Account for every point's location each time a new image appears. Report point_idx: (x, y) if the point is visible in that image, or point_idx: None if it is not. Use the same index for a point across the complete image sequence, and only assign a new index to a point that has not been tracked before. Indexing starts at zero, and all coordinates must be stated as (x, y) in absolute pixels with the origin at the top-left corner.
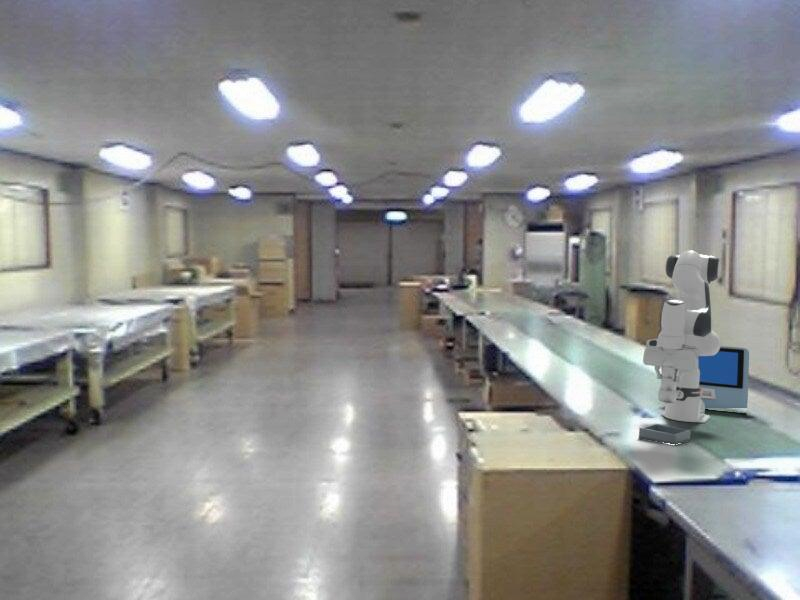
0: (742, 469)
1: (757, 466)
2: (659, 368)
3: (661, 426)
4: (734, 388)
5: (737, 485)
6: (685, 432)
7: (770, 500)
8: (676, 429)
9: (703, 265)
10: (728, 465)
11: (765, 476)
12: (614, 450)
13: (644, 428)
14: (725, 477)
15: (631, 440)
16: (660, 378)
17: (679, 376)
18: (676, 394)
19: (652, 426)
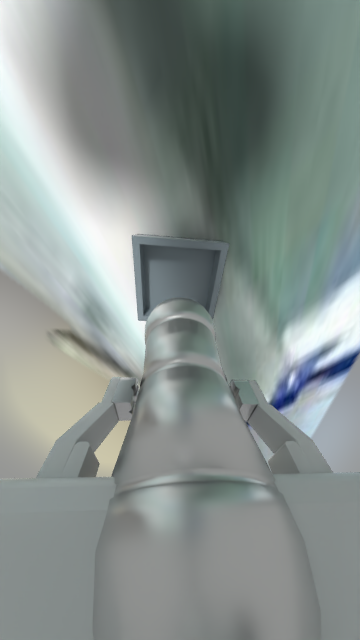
0: (300, 363)
1: (325, 337)
2: (92, 458)
3: (154, 244)
4: None
5: (285, 407)
6: (221, 277)
7: (306, 420)
8: (193, 247)
9: None
10: (285, 358)
11: (322, 370)
12: None
13: (146, 316)
14: (277, 396)
15: (141, 331)
16: (137, 394)
17: (256, 426)
18: (215, 334)
19: (141, 268)
